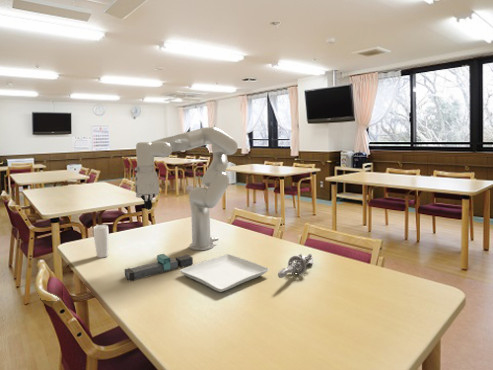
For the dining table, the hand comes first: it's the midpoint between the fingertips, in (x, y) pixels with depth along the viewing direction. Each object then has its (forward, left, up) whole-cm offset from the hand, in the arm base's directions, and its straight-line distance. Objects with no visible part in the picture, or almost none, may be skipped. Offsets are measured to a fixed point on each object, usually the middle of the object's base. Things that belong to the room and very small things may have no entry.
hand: (148, 208), depth 162 cm
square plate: (-16, +38, -25) cm, 49 cm away
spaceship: (-41, +56, -25) cm, 73 cm away
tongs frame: (+2, +16, -25) cm, 29 cm away
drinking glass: (+17, -19, -25) cm, 36 cm away
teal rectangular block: (0, +16, -24) cm, 28 cm away
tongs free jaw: (+6, +14, -24) cm, 29 cm away
